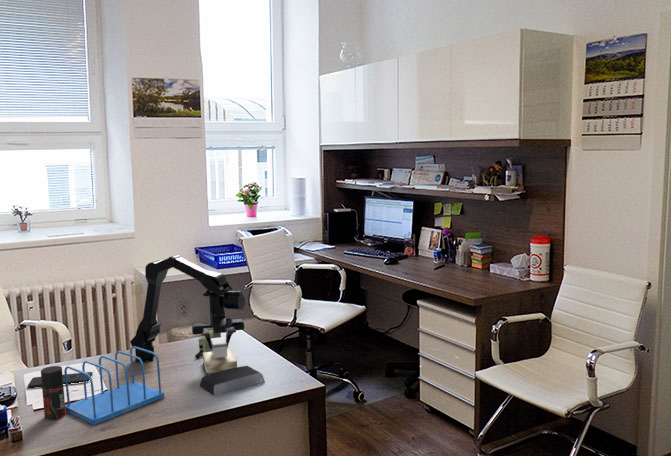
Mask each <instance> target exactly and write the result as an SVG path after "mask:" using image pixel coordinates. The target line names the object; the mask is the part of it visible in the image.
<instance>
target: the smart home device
mask: <svg viewBox="0 0 671 456" xmlns="http://www.w3.org/2000/svg"><path fill="white" fill-rule="evenodd" d="M85 373H88V374H89V375H90V376H92V377H93V372H92V371H87V372H86V371H85ZM85 380H86V381H89V380H90V379H89V378H88V376H86V375H85ZM67 381H68V384H71V383H79V382H84V381H83V374H82V373H79V372H77V373H76V372H75V373H67ZM63 384H66V383H65V373H64V374H63ZM71 385H72V384H71ZM35 387H41V388H42V380H41V376H35V377H32V378H31V380H30V381H29V382H28V384H27V389H28V388H31V389H36V388H35Z"/></svg>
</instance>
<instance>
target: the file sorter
mask: <svg viewBox="0 0 671 456" xmlns="http://www.w3.org/2000/svg"><path fill="white" fill-rule="evenodd" d="M133 349H134V350H135V349H139V350H142V351H145V352H148V353H151V354H153V355H154V358H155V359H156V367H157V368H156V371H157V380H158V389H156V388H153V387H152V386H148V385H146V379H145V378H146V375H145V367H144V366H145V365H144V361H143V362H142V360H141V359H140V358H139V357H137V356H136V355H135V354H133ZM118 354H121V355H125V356H128V357H130V360H129V361H130V369H131V381H132V382H129V375H128V374H129V371H128V369H127V366H126V364H125V362H123V361H120V360H118ZM102 358H103V359H105V360H109V361H112V362H114V363H115V364H114V365H115V375H116V376H115V377H116V387H114V388H113V387H112V386H113V385H112V374H111V372H110V370H109V369H108V368H107V367H104V366H103V365H102ZM133 359H135V360H136V359H138V360H139V361H140V362H139V363H140V366H141V371H142V372H141V374H142V376H141V377H142V383H140V382H137V381H135V374H134V362H133ZM86 364H89V365H92V366H94V367H97V368H99V369H98V370H99V378H100V380H99V381H100V390H101V391H100V392H99V393H97V394H95V389H94V381H93V378H92V377H91V376H90V375H89V374H88V373H85V372H86V370H85V366H86ZM118 364H120V365H122V366H123V369H124V372H125V381H126V382H125V384H124V385H120V380H119V379H120V378H119V365H118ZM81 366H82V368H81V369H82V370H81V369H77V368H74V367H72V366H69V365H68V366H66V367H65V368H64V374H65V383H66V385H65V391H66V401H67V405H66V404H65V410H66V413H69V414H71V415H72V416H74V417H77V418H80V419H81V420H83V421H86V422H87V423H89V424H91V425H94V426H95V425H97V424H99V423H102V422H105V421H108V420H110V419H112V418H115V417H117V416H120V415H123V414H125V413H128V412H130V411H133V410H135V409H137V408H140V407H144V406H146V405H148V404H150V403H152V402H155V401H157V400H160V399H163V398H165V392H164V391H162V385H161V371H160V362H159V357H158V355H157V354H156V353H155V351H154V352H151V351H148V350H145V349H142V348H139V347H135V346H133V347H132V346H131V347H130V349H129V352H128V353H127V352H125V351H122V350H117V351H116V352H115V354H114V358H112V357H109V356H106V355H101V356H100V357H99V358H98V363H97V364H96V363H95V362H91V361H89V360H85V361H83V362H82V365H81ZM68 369H69V370H72V371H74V372H77V373H82V374H83V381H84V383H83V391H84V398H83V399H81V400H77V401H74V402H72V403H71V402H70V401H71V400H70V390H69V385H68V381H67V374H68V372H67V371H68ZM103 370H104V371H105V372H106V373H107V376H108V385H109V390H106V391H104V383H103V372H102V371H103ZM85 375H86V376H88V378H89V379H90V382H89V383H90V389H91V396H89V397H88V393H87V383H86V380H85Z"/></svg>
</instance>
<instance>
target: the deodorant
mask: <svg viewBox="0 0 671 456" xmlns="http://www.w3.org/2000/svg"><path fill="white" fill-rule="evenodd" d="M63 375H64V374H63V367H62V366H60V365H53V366H51V365H50V366H47V367H43V368H42V369H41V370H40V377H41V380H42V387H41V388H42V389H41V390H42V400H43V401H42V402H43V403H42V404H43V413H44V414H43V415H44V419H45V421H56V420H60V419H63V418H64V417H66V415H67V414H66V413H67V411H66V410H65V406H66V401H65V389H64V388H65V387H64V386H65V385H63Z"/></svg>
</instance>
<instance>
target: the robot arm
mask: <svg viewBox="0 0 671 456" xmlns="http://www.w3.org/2000/svg"><path fill="white" fill-rule="evenodd" d="M172 268H173V269H175V270H177V271H180V272H181V273H183V274H185V275H187V276H189V277H191V278H193V279H195V280H196V281H198V282H199V283H200V284H201V285H202V287H204V288H205V289H206V291H205V292H204V293H203V297H208V308H209V309H208V311H209V313H208V314H209V324H203V322H196V323H195V322H194V323H192V324H191V332H192V335H201V336H205V337H206V339H207V341H208V344H209V346H210V351H211V350H212V345H211V339H210V333H209V330H212V329H213V333H221V334H224V333H225V340H226V343H227V349H228V348H229V344H230V340H231V337H232V336H233V334H234V333H236V331H242V330H245V322H244V321H243V319H242V318H236V319H235V318H234V319H232V317H226V309H227V310H237V311H242V310H244V308H245V306H246V298H245V295H244V294H243V291H242V290H234V289H233V288H232V286H231V285H230V283H229V282H228V281H227V278H226V276H225V274H224V273H222V272H218V271H215V270H208V269H204V267H203V268H202V267H201V266H199V265H197V264H195V263H193V262H191V261H189V260H187V259H185V258H183V257H181V255H178V254H174V255H172V256H169V257H168V258H166V259H164V260H163V259H158V260H155V261H153V262H152V261H151V262H149V263H147V265H145V268H144V269H145V271H144V272H145V275H144V276H145V280H146V282H147V288H146V294H145V302H144V306H143V307H144V309H143V315H142V319H141V320H140V322H139V324H138V326H137V328H136V331H135V335H134V336H133V338H132V339H131V340H129V342H130V345H131V347H133V346H135V347H139V348H142V349H145V350H148V351H151V352H154V353H155V345H153V342H155V341H156V338H157V337H158V335H159V334H160V333H161V330H160V329H161V326H162V325H161V323H160V322H158V319H157V314H158V309H159V302H160V301H159V300H160V294H161V288H162V283H163V282H164V280H165V279H166V277H167V274H168V271H169V270H170V269H172ZM134 352H135V354H134V355H135V356H137V357H139V358H140V359H141V360H142V362H143V363H144V362H150V361H154V358H155V356H154V355H153V354H151V353H148V352H145V351H142V350H139V349H135V348H134ZM135 363H141V362H140V361H139V360H138V359H136V358H135Z"/></svg>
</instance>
